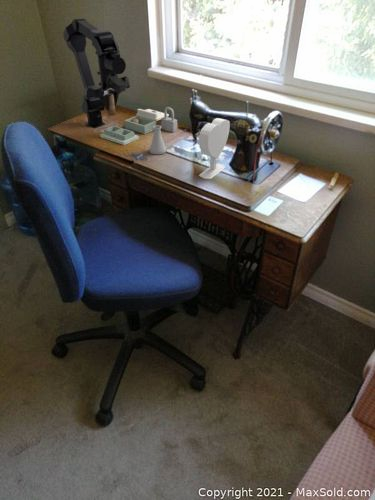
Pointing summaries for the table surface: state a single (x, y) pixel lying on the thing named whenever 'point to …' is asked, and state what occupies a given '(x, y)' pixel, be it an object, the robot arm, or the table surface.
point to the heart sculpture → (213, 144)
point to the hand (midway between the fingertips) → (111, 109)
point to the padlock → (169, 121)
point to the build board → (119, 135)
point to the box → (140, 124)
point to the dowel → (111, 105)
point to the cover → (150, 114)
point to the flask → (157, 142)
